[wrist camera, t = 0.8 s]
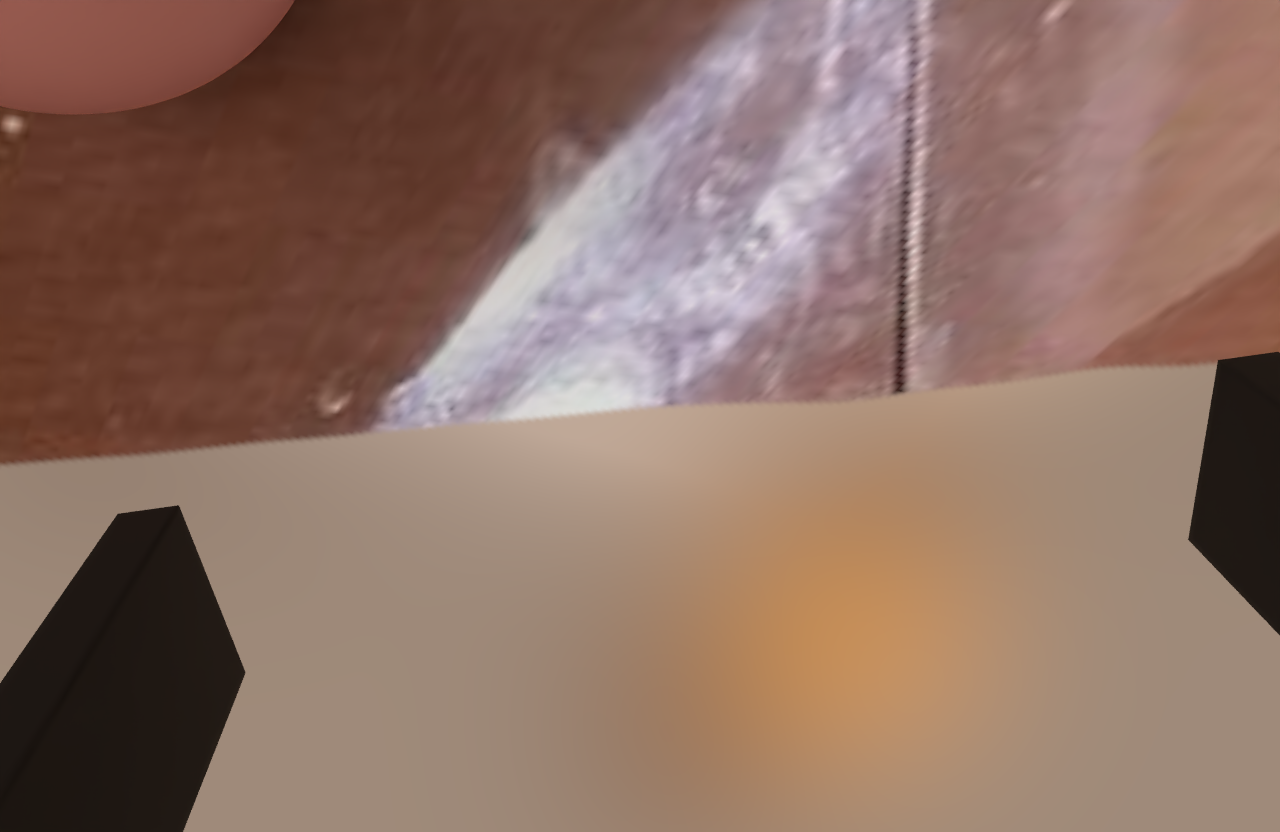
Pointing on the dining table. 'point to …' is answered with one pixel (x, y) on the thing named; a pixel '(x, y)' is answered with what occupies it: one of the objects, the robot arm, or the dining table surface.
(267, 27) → the balloon
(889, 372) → the dining table surface
